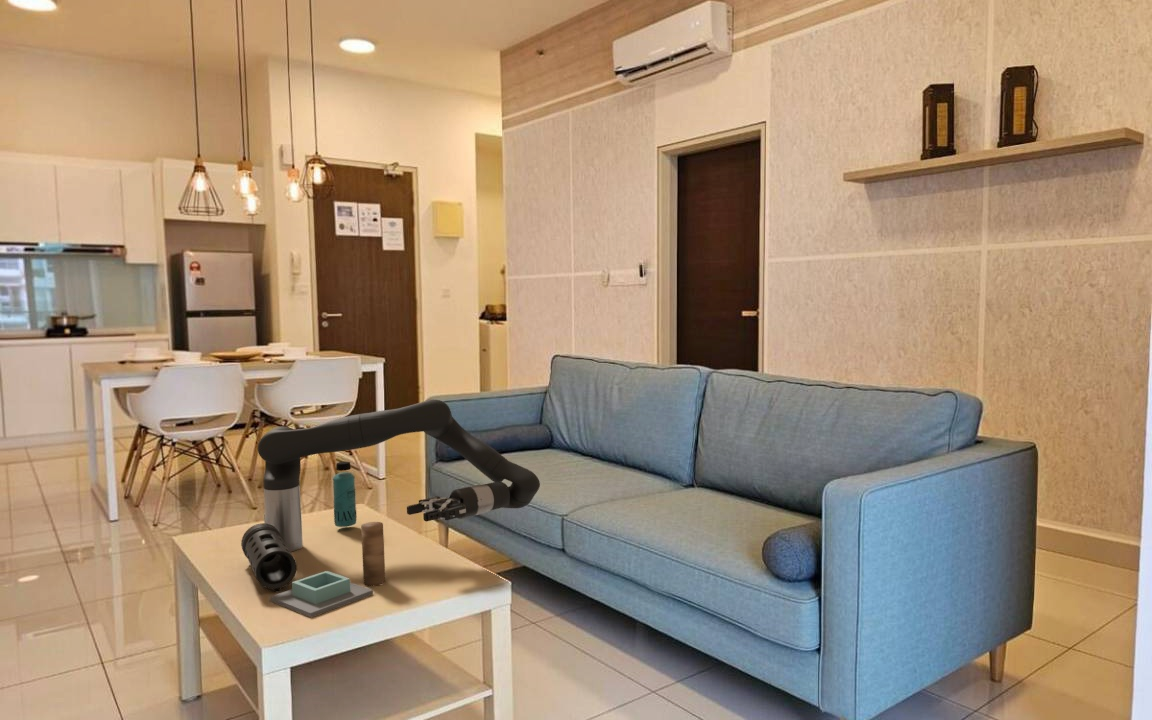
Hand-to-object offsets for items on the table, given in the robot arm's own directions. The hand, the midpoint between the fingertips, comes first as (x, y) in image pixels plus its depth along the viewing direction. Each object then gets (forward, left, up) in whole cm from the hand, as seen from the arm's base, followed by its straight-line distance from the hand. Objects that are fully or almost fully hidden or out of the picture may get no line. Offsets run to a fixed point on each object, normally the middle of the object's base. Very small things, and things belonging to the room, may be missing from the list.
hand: (415, 513), depth 190 cm
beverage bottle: (-47, +12, -15) cm, 50 cm away
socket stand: (-5, -24, -14) cm, 28 cm away
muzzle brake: (-29, -23, -15) cm, 40 cm away
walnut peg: (-3, -11, -14) cm, 18 cm away
